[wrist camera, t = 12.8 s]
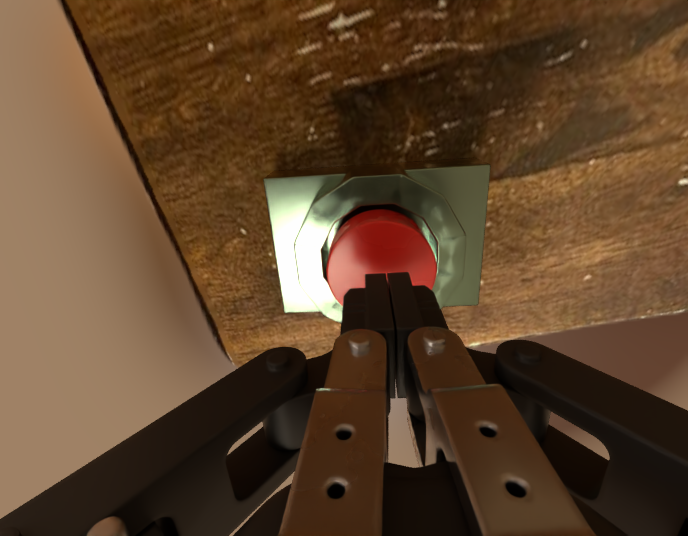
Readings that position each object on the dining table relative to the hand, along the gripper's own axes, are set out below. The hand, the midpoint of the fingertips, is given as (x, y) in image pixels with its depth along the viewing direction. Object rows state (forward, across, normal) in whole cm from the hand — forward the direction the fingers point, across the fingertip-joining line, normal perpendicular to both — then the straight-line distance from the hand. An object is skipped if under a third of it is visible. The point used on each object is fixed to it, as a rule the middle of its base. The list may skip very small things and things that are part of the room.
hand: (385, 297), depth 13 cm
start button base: (+7, 0, 0) cm, 7 cm away
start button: (+4, 0, 0) cm, 4 cm away
